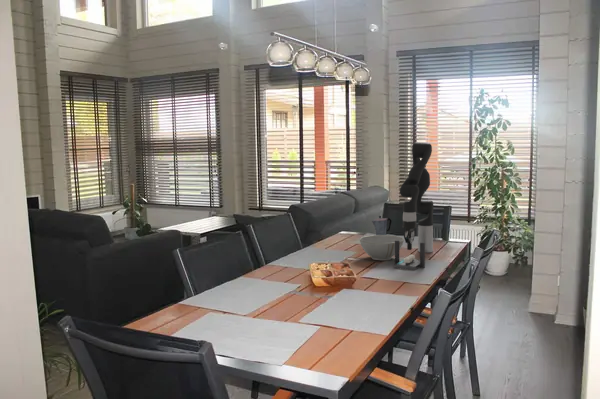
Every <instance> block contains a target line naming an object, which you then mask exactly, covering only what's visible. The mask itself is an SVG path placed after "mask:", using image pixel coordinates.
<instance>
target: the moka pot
mask: <svg viewBox="0 0 600 399" xmlns="http://www.w3.org/2000/svg"><path fill="white" fill-rule="evenodd" d="M388 221H389V223H388ZM392 221H393V220H392V218H390V217H385V218H382V216H381V215H378V218H376V219H375V218H374V219H373V220H372V221H371V222H372V224H373V225H374V230H375V235H388V234H387V232H389V231H390V230H391V226H392ZM387 224H389V225H388V229H387Z"/></svg>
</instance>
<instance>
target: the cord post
mask: <svg viewBox="0 0 600 399" xmlns="http://www.w3.org/2000/svg"><path fill="white" fill-rule="evenodd" d="M425 254H426V253H425V243H420V252H419V260H420V267H419V269H425V267H426V265H425V263H426V259H425V258H426V255H425Z"/></svg>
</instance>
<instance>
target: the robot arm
mask: <svg viewBox="0 0 600 399" xmlns="http://www.w3.org/2000/svg"><path fill="white" fill-rule="evenodd" d="M432 151H433V146H432V143H428V142H418V141H417V142H414V143H413V144H412V147H411V153H412V154H411V155H412V156H411V157H412V162H413V166H412V167H411V168H410V169H409V172H408V175H407V177H406V179H405V181H404V182H403V183H402V184H401V186H400V189H399V194H400V196H401V197H403V198H411V199H410V200H406V201H404V202H403V204H402V207H403V209H402V212H403V213H402V228H403V229H404V230H405V232H404V235H403V239H404V241H405V243H406V246H407V247H406V249H407V251H411V250H412V249H413V242H414V241H415V236H416V232H415V230H414V229H416V228H417V229H418V230H417V234H418V236H417V237H418V240H417V247H418V248H417V249H418V250H417V251H418V252H419V253H420V243H425V254H426V253H433V252H434V202H433V200H429V199H428V200H422V198H423V196H424V194H425V193H426V192H427V190H428V189H429V188H430V185H431V177H430V173H429V171H428V169H427V168H426V166H427V164H428V163H429V160H430V158H431V156H432V153H433V152H432ZM417 215H420V216H421V215H424V216H426V215H427V216H426V217H425V218H422V219H419V220H418V221H417ZM417 223H418V225H417ZM417 226H418V227H417Z"/></svg>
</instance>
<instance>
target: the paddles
mask: <svg viewBox="0 0 600 399" xmlns="http://www.w3.org/2000/svg"><path fill="white" fill-rule="evenodd" d="M403 259H404V262H405V263H410V261H413V260H416V256H415V254H408V255H406V257H403Z"/></svg>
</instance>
